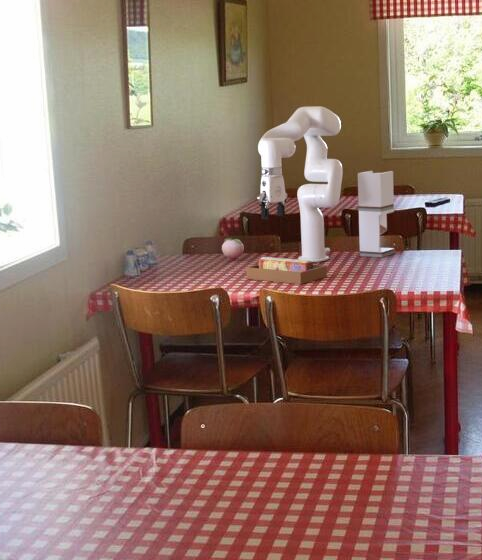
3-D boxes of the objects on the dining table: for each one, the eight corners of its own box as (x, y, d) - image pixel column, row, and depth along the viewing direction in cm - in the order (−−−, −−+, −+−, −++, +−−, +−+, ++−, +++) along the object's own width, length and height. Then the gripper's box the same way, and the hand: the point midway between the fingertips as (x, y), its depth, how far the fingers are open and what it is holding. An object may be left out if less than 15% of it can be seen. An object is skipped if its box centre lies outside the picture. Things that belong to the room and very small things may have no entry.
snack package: (315, 275, 374) (314, 258, 373) (306, 278, 368) (306, 260, 367) (266, 272, 383) (265, 255, 382) (257, 275, 377) (256, 258, 376)
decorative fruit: (218, 261, 417) (217, 237, 415) (227, 258, 424) (226, 235, 422) (238, 262, 413) (236, 238, 411) (247, 259, 420) (246, 235, 419)
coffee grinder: (381, 257, 416) (380, 173, 409) (359, 255, 421) (357, 173, 414) (394, 253, 425) (393, 171, 419) (372, 251, 431) (371, 170, 424)
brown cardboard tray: (273, 271, 390) (272, 260, 389) (326, 276, 376) (326, 265, 375) (246, 278, 376) (245, 267, 375) (300, 284, 362) (300, 272, 361)
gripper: (265, 174, 364) (266, 220, 367) (293, 171, 379) (294, 215, 382) (249, 173, 369) (251, 219, 371) (277, 170, 383) (279, 214, 386)
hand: (273, 217), depth 376 cm, fingers open, 9 cm apart
